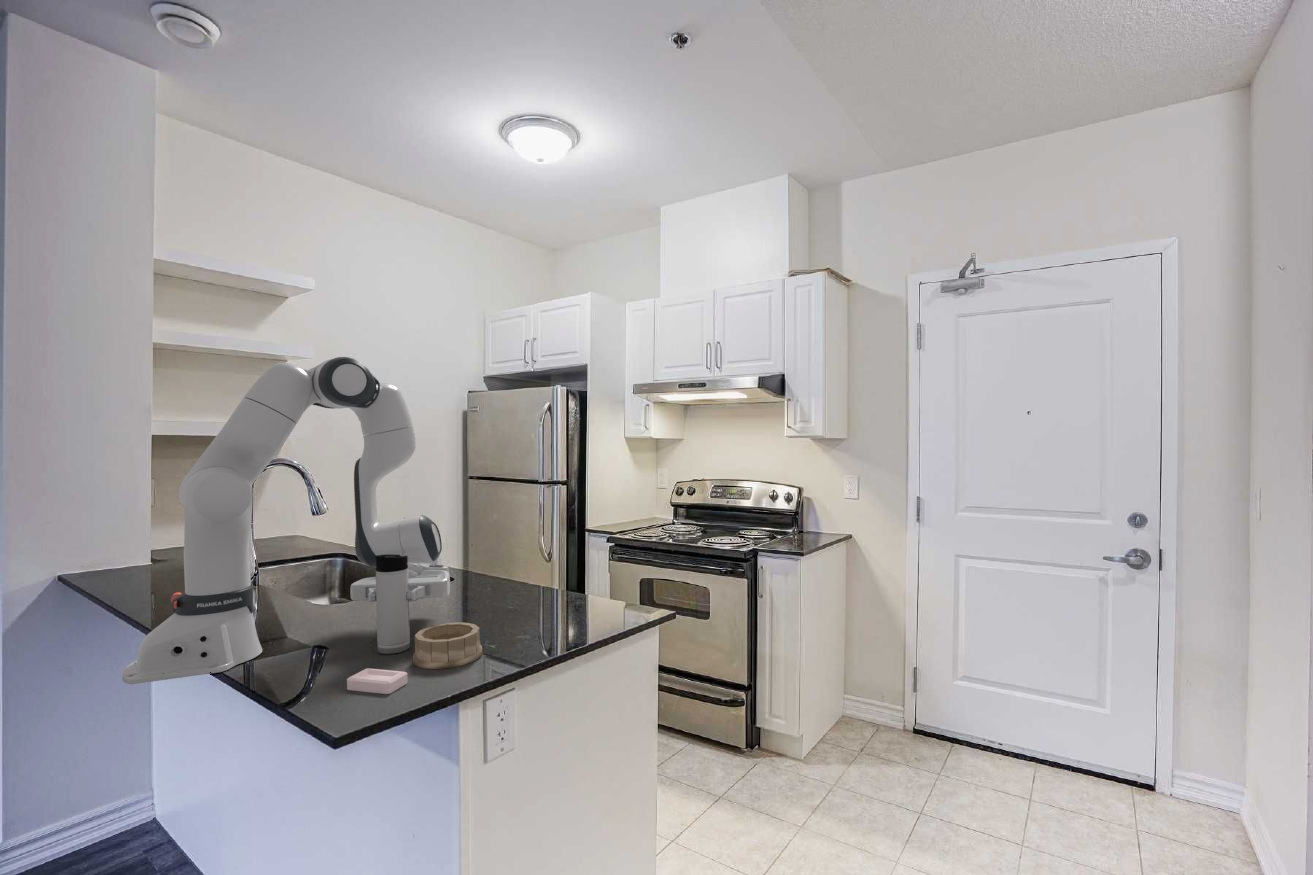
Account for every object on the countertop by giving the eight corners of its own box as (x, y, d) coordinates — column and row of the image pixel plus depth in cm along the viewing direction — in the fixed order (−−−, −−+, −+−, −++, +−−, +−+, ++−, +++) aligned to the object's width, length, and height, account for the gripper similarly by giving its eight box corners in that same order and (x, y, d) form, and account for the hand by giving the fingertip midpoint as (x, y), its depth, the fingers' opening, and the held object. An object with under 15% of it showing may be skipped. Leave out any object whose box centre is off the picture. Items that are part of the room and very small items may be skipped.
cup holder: (422, 674, 120) (421, 647, 120) (406, 654, 131) (405, 629, 131) (491, 658, 127) (490, 633, 127) (470, 641, 138) (470, 617, 138)
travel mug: (369, 652, 132) (366, 554, 132) (395, 642, 138) (393, 549, 138) (390, 656, 129) (388, 557, 129) (416, 646, 135) (414, 551, 135)
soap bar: (389, 696, 111) (388, 682, 111) (345, 691, 114) (344, 677, 114) (409, 684, 116) (408, 670, 116) (366, 679, 119) (366, 666, 119)
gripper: (362, 569, 145) (338, 583, 132) (455, 565, 147) (441, 579, 134) (363, 596, 146) (338, 614, 132) (456, 592, 147) (441, 610, 134)
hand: (391, 597), depth 133 cm, fingers closed on travel mug, 6 cm apart
